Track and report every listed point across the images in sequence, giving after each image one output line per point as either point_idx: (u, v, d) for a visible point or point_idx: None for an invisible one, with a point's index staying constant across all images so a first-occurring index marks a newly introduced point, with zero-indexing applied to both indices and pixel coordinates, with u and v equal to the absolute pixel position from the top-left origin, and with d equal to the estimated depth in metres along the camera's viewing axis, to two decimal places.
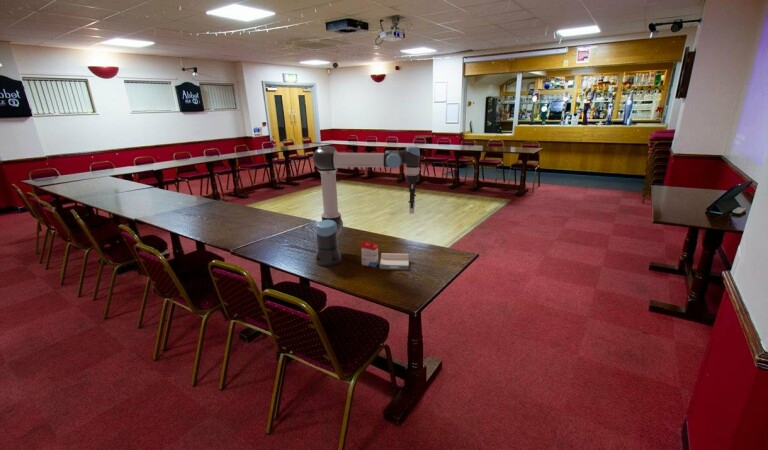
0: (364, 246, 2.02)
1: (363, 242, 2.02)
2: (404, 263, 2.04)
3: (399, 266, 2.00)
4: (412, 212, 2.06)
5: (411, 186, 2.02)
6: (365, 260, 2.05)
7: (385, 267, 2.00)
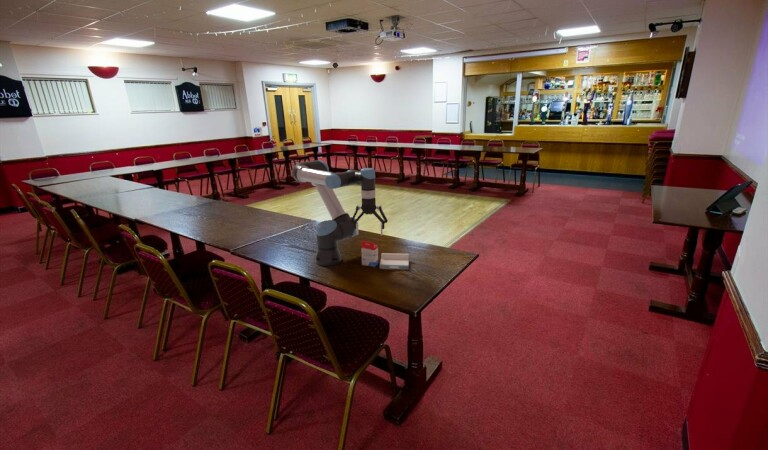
0: (364, 246, 2.02)
1: (363, 242, 2.02)
2: (404, 263, 2.04)
3: (399, 266, 2.00)
4: None
5: (356, 207, 1.98)
6: (365, 260, 2.05)
7: (385, 267, 2.00)
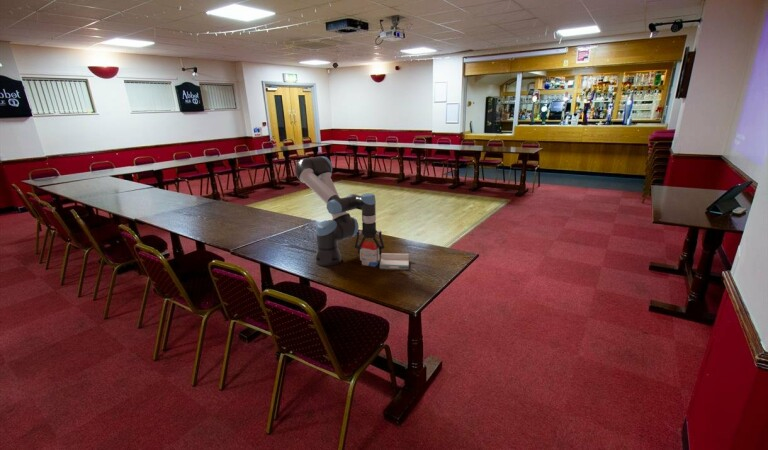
0: (364, 246, 2.02)
1: (363, 242, 2.02)
2: (404, 263, 2.04)
3: (399, 266, 2.00)
4: (360, 258, 2.06)
5: (357, 232, 2.02)
6: (365, 260, 2.05)
7: (385, 267, 2.00)
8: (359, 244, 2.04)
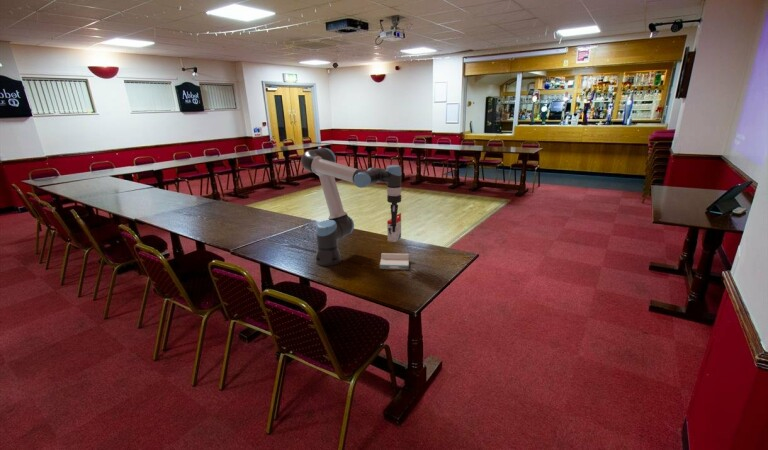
0: (396, 221, 1.95)
1: (396, 217, 1.94)
2: (404, 263, 2.04)
3: (399, 266, 2.00)
4: (394, 236, 1.95)
5: (392, 209, 1.89)
6: (397, 235, 1.98)
7: (385, 267, 2.00)
8: None
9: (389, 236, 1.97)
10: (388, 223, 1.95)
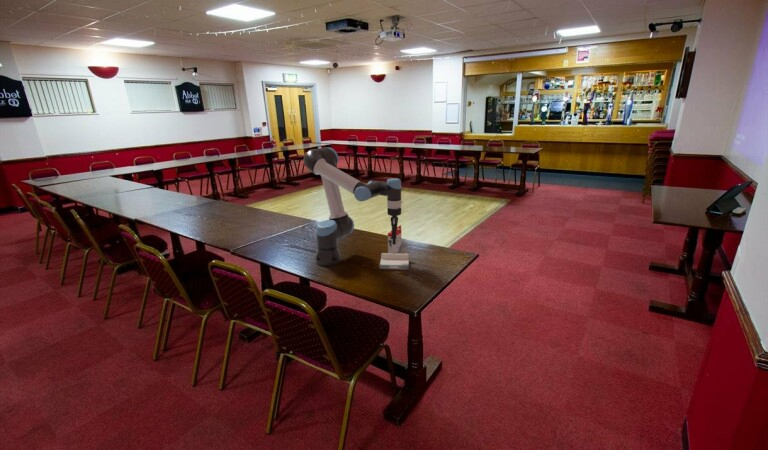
0: (397, 233, 1.97)
1: (396, 229, 1.96)
2: (404, 263, 2.04)
3: (399, 266, 2.00)
4: (394, 248, 1.97)
5: (393, 222, 1.91)
6: (397, 247, 2.00)
7: (385, 267, 2.00)
8: None
9: (389, 248, 1.99)
10: (388, 235, 1.97)
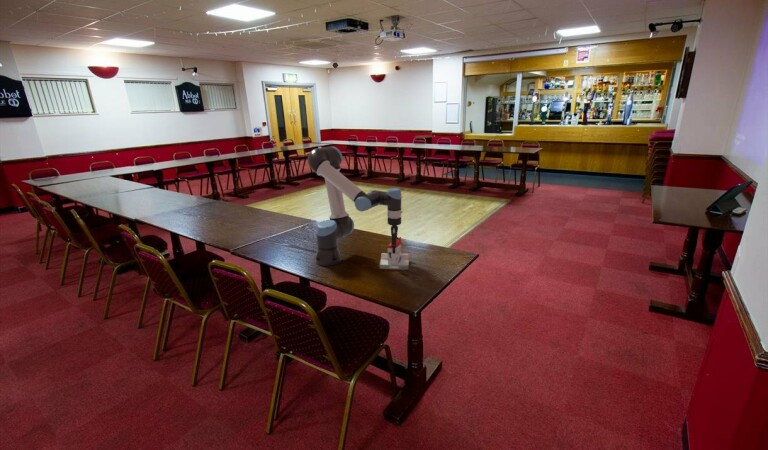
0: (396, 245, 1.99)
1: (396, 241, 1.98)
2: (404, 263, 2.04)
3: (399, 266, 2.00)
4: (394, 257, 1.98)
5: (393, 231, 1.93)
6: (397, 259, 2.02)
7: (385, 267, 2.00)
8: None
9: (389, 260, 2.01)
10: (388, 247, 1.99)
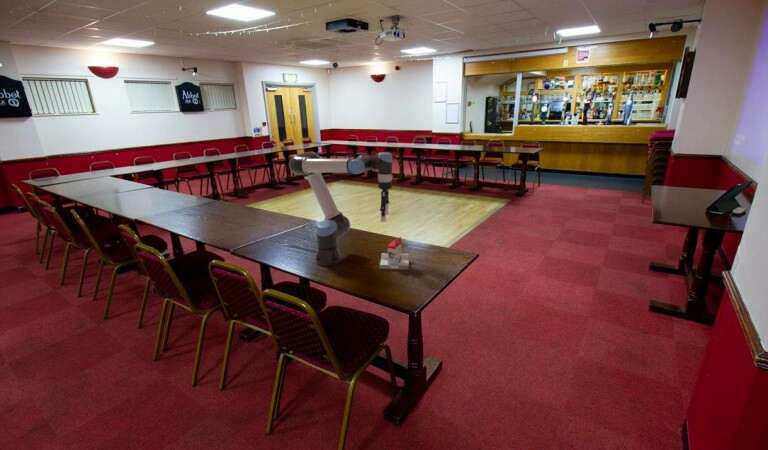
0: (396, 245, 1.99)
1: (396, 241, 1.98)
2: (404, 263, 2.04)
3: (399, 266, 2.00)
4: (384, 220, 1.99)
5: (382, 193, 1.95)
6: (397, 259, 2.02)
7: (385, 267, 2.00)
8: None
9: (389, 260, 2.01)
10: (388, 247, 1.99)
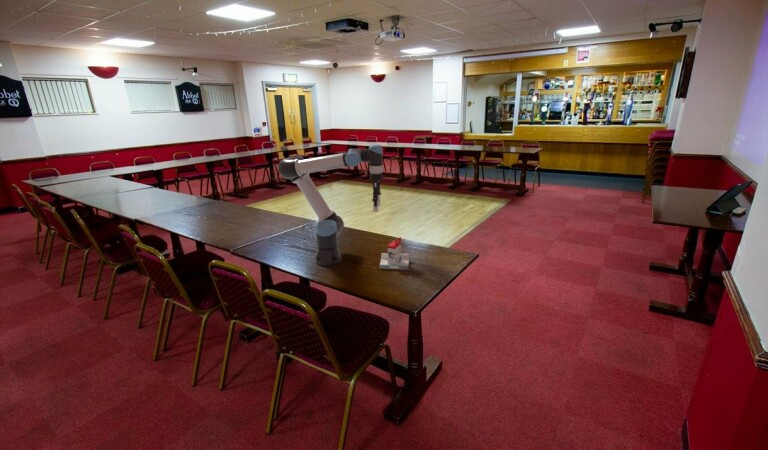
0: (396, 245, 1.99)
1: (396, 241, 1.98)
2: (404, 263, 2.04)
3: (399, 266, 2.00)
4: (376, 210, 2.06)
5: (374, 184, 2.02)
6: (397, 259, 2.02)
7: (385, 267, 2.00)
8: None
9: (389, 260, 2.01)
10: (388, 247, 1.99)
